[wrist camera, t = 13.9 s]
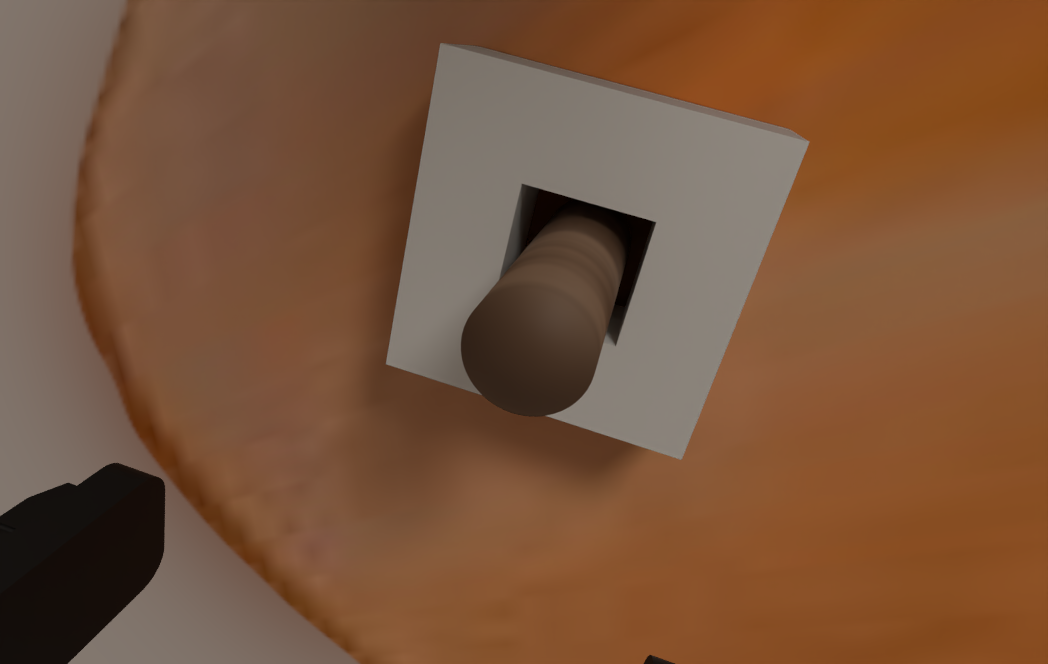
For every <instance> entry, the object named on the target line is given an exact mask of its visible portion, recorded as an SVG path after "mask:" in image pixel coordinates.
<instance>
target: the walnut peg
mask: <svg viewBox="0 0 1048 664" xmlns="http://www.w3.org/2000/svg"><path fill="white" fill-rule="evenodd" d="M630 246H631V232H630V227H629V224H628V222H627V220H626V218H625V217H624V215H623V214H622V212H619V211H616V210H612V209H609V208H605V207H602V206H598V205H595V204H591V203H588V202H584V201H581V200H577V199H574V200H572V201H570V202H568V203H566V204H565V205H563V206H562V207H561V208H560V209H559V210H558V211H557V212H556V213H555V214H554V216H553V217H552V218H551V219H550V220H549V221H548V223H547V224H546V225H545V226H544V227H543V229H542V230H541V231H540V232H539V233H538V235H537V236H536V237H535V238H534V239H533V240H532V242H531V243H530V244H529V245H528V246H527V248H526V249H525V250H524V251H523V252H522V253H521V255H520V256H519V257H518V258H517V259H516V261H515V262H514V263H513V264H512V265H511V267H510V268H509V269H508V270H507V271H506V272H505V274H504V275H503V276H502V277H501V278H500V280H499V281H498V282H497V283H496V284H495V286H494V287H493V288H492V289H491V290H490V291H489V293H488V294H487V295H486V296H485V297H484V299H483V300H482V301H481V302H480V303H479V305H478V306H477V307H476V308H475V309H474V310H473V312H472V313H471V315H470V316H469V318H468V319H467V321H466V324H465V326H464V329H463V332H462V337H461V356H462V361H463V365H464V368H465V370H466V373H467V375H468V377H469V379H470V380H471V382H472V384H473V385H474V386H475V388H476V389H477V390H478V391H479V392H480V393H481V394H482V395H483V396H484V397H485V398H486V399H487V400H488V401H490V402H491V403H493V404H494V405H496V406H498V407H500V408H501V409H503V410H506V411H508V412H511V413H514V414H518V415H523V416H547V415H551V414H555V413H558V412H561V411H563V410H565V409H567V408H569V407H570V406H572V405H573V404H574V403H576V402H577V401H578V400H579V399H580V398H581V397H582V396H583V395H584V394H585V392H586V391H587V390H588V388H589V386H590V384H591V382H592V380H593V377H594V374H595V371H596V367H597V364H598V360H599V357H600V353H601V350H602V346H603V343H604V339H605V335H606V332H607V328H608V325H609V321H610V318H611V314H612V311H613V307H614V304H615V300H616V297H617V293H618V289H619V286H620V282H621V279H622V275H623V272H624V268H625V265H626V261H627V258H628V254H629V251H630Z"/></svg>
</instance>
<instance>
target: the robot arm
mask: <svg viewBox="0 0 1048 664" xmlns="http://www.w3.org/2000/svg"><path fill="white" fill-rule="evenodd" d="M164 527H165V485H164V482H163V480H162V479H161V478H159V477H156V476H153V475H150V474H147V473H144V472H142V471H139V470H136V469H133V468H131V467H128V466H125V465H122V464H119V463H113V464H109V465H107V466H105V467H103V468H102V469H100V470H99V471H98V472H96V473H95V474H93V475H92V476H90V477H89V478H87V479H86V480H85V481H83V482H82V483H81V484H79V485H78V486H76V485H73V484H70V483H66V484H63V485H61V486H58V487H55V488H53V489H50V490H47V491H45V492H42V493H40V494H37V495H34V496H31V497H29V498H27V499H26V500H24V501H22V502H21V503H19V504H18V505H16V506H15V507H13V508H12V509H10V510H9V511H7V512H6V513H4V514H3V515H1V516H0V664H68V662H70V661H71V659H73V658H74V657H75V656H76V655H77V654H78V653H79V652H80V651H81V650H82V649H83V648H84V647H85V646H86V645H87V644H88V643H89V642H90V641H91V640H92V639H93V638H94V637H95V636H96V635H97V634H98V633H99V632H100V631H101V630H102V629H103V628H104V627H105V626H106V625H107V624H108V623H109V622H110V621H111V620H112V619H113V618H115V617H116V616H117V615H118V613H119V612H121V611H122V610H123V609H124V608H125V607H126V605H128V604H129V603H130V602H131V601H132V600H133V599H134V598H135V597H136V596H137V595H138V594H139V593H140V592H141V591H142V590H143V589H144V588H145V587H146V585H147V584H148V583H149V582H150V580H151V579H152V578H153V576H154V575H155V572H156V571H157V569H158V567H159V565H160V563H161V560H162V557H163V552H164ZM644 664H675V663H672V662H669V661H666V660H663V659H661V658H658V657H655V656H652V655H649V656H648V657H647V659H646V660H645V662H644Z"/></svg>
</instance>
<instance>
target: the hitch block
mask: <svg viewBox="0 0 1048 664" xmlns="http://www.w3.org/2000/svg"><path fill="white" fill-rule="evenodd" d="M808 144H809V141H807V140H806V139H804V138H803V137H801V136H799V135H798V134H796V133H795V132H793V131H791V130H790V129H787V128H783V127H779V126H776V125H772V124H768V123H764V122H761V121H757V120H753V119H749V118H746V117H742V116H738V115H734V114H731V113H727V112H723V111H719V110H716V109H712V108H708V107H704V106H701V105H697V104H693V103H689V102H686V101H682V100H678V99H674V98H671V97H667V96H663V95H659V94H656V93H652V92H648V91H644V90H641V89H637V88H633V87H629V86H626V85H622V84H618V83H614V82H611V81H607V80H603V79H599V78H596V77H592V76H588V75H584V74H581V73H577V72H573V71H569V70H566V69H562V68H558V67H554V66H551V65H547V64H543V63H539V62H536V61H532V60H528V59H524V58H521V57H517V56H513V55H509V54H506V53H502V52H498V51H494V50H491V49H487V48H483V47H479V46H472V45H459V44H446V43H440V49H439V55H438V60H437V66H436V72H435V78H434V84H433V90H432V96H431V102H430V108H429V113H428V119H427V125H426V131H425V137H424V143H423V149H422V155H421V160H420V166H419V172H418V178H417V184H416V190H415V196H414V202H413V207H412V213H411V219H410V225H409V231H408V237H407V243H406V249H405V254H404V260H403V266H402V272H401V278H400V284H399V290H398V296H397V301H396V307H395V313H394V319H393V325H392V331H391V337H390V343H389V348H388V354H387V360H386V364H387V365H390V366H393V367H396V368H399V369H402V370H405V371H409V372H412V373H415V374H418V375H421V376H424V377H427V378H430V379H433V380H436V381H439V382H443V383H446V384H449V385H452V386H455V387H458V388H461V389H464V390H467V391H470V392H473V393H477V394H480V395H482V394H481V393H480V392H479V391H478V390H477V389H476V388H475V386H474V385H473V384H472V382H471V380H470V379H469V377H468V375H467V373H466V370H465V368H464V365H463V361H462V356H461V337H462V332H463V329H464V326H465V324H466V321H467V319H468V318H469V316H470V315H471V313H472V312H473V310H474V309H475V308H476V307H477V306H478V305H479V303H480V302H481V301H482V300H483V299H484V297H485V296H486V295H487V294H488V293H489V291H490V290H491V289H492V288H493V287H494V286H495V284H496V283H497V282H498V281H499V280H500V278H501V277H502V276H503V275H504V274H505V272H506V271H507V270H508V269H509V268H510V267H511V265H512V264H513V263H514V262H515V261H516V259H517V258H518V257H519V256H520V255H521V253H522V252H523V251H524V249H525V245H526V241H527V237H528V233H529V229H530V225H531V221H532V216H533V212H534V208H535V204H536V200H537V196H538V192H539V189H543V190H546V191H550V192H553V193H556V194H560V195H563V196H567V197H570V198H574V199H577V200H581V201H584V202H588V203H591V204H595V205H598V206H602V207H605V208H609V209H612V210H616V211H619V212H623V213H626V214H630V215H633V216H637V217H640V218H644V219H647V220H651V221H653V223H652V226H651V229H650V232H649V235H648V238H647V241H646V244H645V247H644V250H643V253H642V257H641V260H640V263H639V266H638V269H637V272H636V275H635V278H634V281H633V284H632V287H631V291H630V294H629V297H628V300H627V303H626V306H625V307H623V306H619V305H616V304H614V307H613V311H612V314H611V318H610V321H609V325H608V328H607V332H606V335H605V339H604V343H603V346H602V350H601V353H600V357H599V360H598V364H597V367H596V371H595V374H594V377H593V380H592V382H591V384H590V386H589V388H588V390H587V391H586V392H585V394H584V395H583V396H582V397H581V398H580V399H579V400H578V401H577V402H576V403H574V404H573V405H572V406H570V407H569V408H567V409H565V410H563V411H561V412H558V413H555V414H551V415H547V416H548V417H551V418H554V419H557V420H560V421H563V422H566V423H569V424H572V425H575V426H578V427H582V428H585V429H588V430H591V431H594V432H597V433H600V434H603V435H606V436H609V437H612V438H616V439H619V440H622V441H625V442H628V443H631V444H634V445H637V446H640V447H643V448H646V449H650V450H653V451H656V452H659V453H662V454H665V455H668V456H671V457H674V458H677V459H680V460H682V457H683V455H684V452H685V450H686V447H687V445H688V442H689V440H690V437H691V435H692V432H693V430H694V427H695V425H696V423H697V420H698V418H699V415H700V413H701V410H702V408H703V405H704V403H705V400H706V398H707V395H708V393H709V390H710V388H711V385H712V383H713V380H714V378H715V375H716V373H717V370H718V368H719V365H720V363H721V360H722V358H723V355H724V353H725V351H726V348H727V346H728V343H729V341H730V338H731V336H732V333H733V331H734V328H735V326H736V323H737V321H738V318H739V316H740V313H741V311H742V308H743V306H744V303H745V301H746V298H747V296H748V293H749V291H750V288H751V286H752V283H753V281H754V278H755V276H756V274H757V271H758V269H759V266H760V264H761V261H762V259H763V256H764V254H765V251H766V249H767V246H768V244H769V241H770V239H771V236H772V234H773V231H774V229H775V226H776V224H777V221H778V219H779V216H780V214H781V211H782V209H783V206H784V204H785V201H786V199H787V197H788V194H789V192H790V189H791V187H792V184H793V182H794V179H795V177H796V174H797V172H798V169H799V167H800V164H801V162H802V159H803V157H804V154H805V152H806V149H807V147H808Z"/></svg>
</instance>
